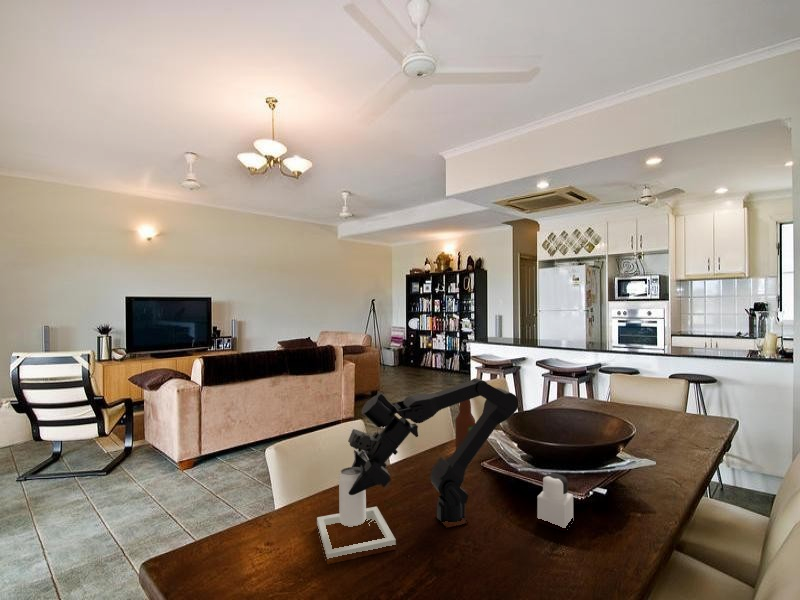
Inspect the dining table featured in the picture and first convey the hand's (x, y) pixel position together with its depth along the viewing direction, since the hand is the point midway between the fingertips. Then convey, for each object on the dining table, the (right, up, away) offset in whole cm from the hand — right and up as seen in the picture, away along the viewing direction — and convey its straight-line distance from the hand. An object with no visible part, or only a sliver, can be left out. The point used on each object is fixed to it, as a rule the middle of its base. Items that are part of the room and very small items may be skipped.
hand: (347, 488), depth 101 cm
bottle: (+37, -12, +53) cm, 66 cm away
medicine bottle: (+53, -12, +6) cm, 55 cm away
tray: (+2, -12, 0) cm, 12 cm away
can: (+1, -8, -1) cm, 8 cm away
